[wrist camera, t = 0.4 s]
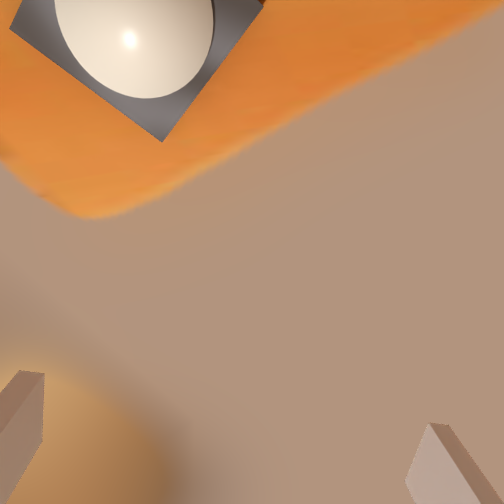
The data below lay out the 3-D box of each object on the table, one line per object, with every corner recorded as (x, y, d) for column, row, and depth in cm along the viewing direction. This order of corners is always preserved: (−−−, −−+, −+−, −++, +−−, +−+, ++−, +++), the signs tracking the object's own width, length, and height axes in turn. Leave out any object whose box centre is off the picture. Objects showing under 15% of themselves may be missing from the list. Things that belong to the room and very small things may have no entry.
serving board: (106, -156, 25) (98, -165, 23) (262, 5, 30) (264, 6, 28) (18, 26, 30) (7, 29, 28) (164, 136, 35) (161, 143, 34)
